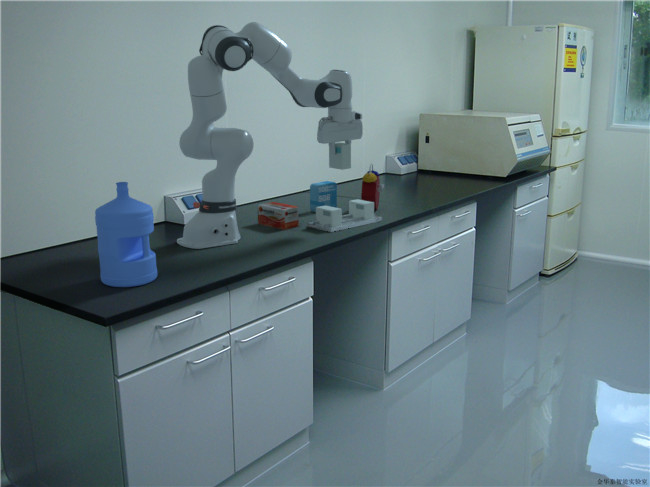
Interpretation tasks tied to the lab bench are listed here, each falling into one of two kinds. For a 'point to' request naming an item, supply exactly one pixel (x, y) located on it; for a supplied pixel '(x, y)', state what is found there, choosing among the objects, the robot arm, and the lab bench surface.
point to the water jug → (125, 241)
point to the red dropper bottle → (371, 187)
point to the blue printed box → (323, 195)
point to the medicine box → (278, 215)
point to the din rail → (345, 223)
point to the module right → (361, 209)
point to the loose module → (340, 156)
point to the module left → (329, 215)
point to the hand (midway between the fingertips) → (340, 153)
